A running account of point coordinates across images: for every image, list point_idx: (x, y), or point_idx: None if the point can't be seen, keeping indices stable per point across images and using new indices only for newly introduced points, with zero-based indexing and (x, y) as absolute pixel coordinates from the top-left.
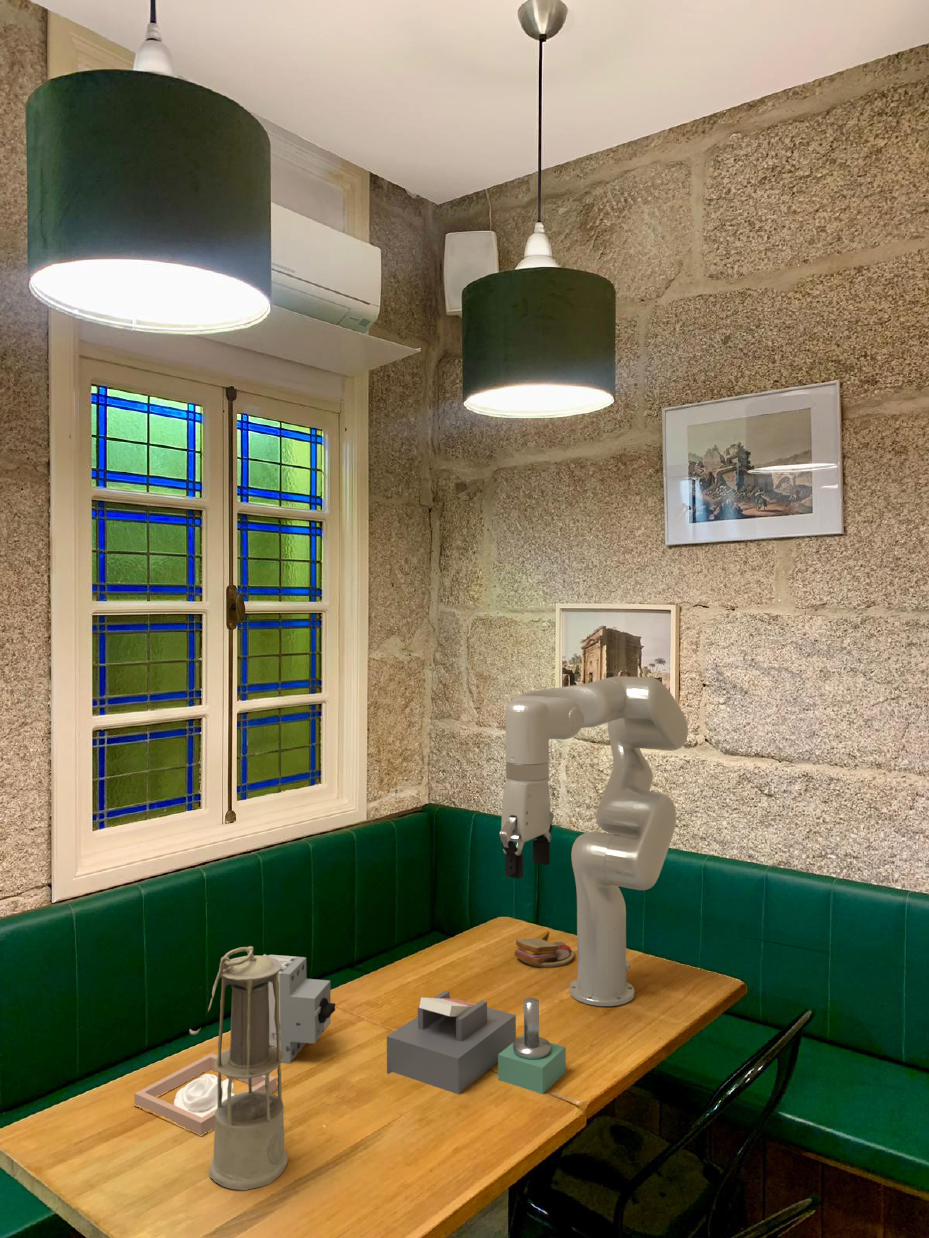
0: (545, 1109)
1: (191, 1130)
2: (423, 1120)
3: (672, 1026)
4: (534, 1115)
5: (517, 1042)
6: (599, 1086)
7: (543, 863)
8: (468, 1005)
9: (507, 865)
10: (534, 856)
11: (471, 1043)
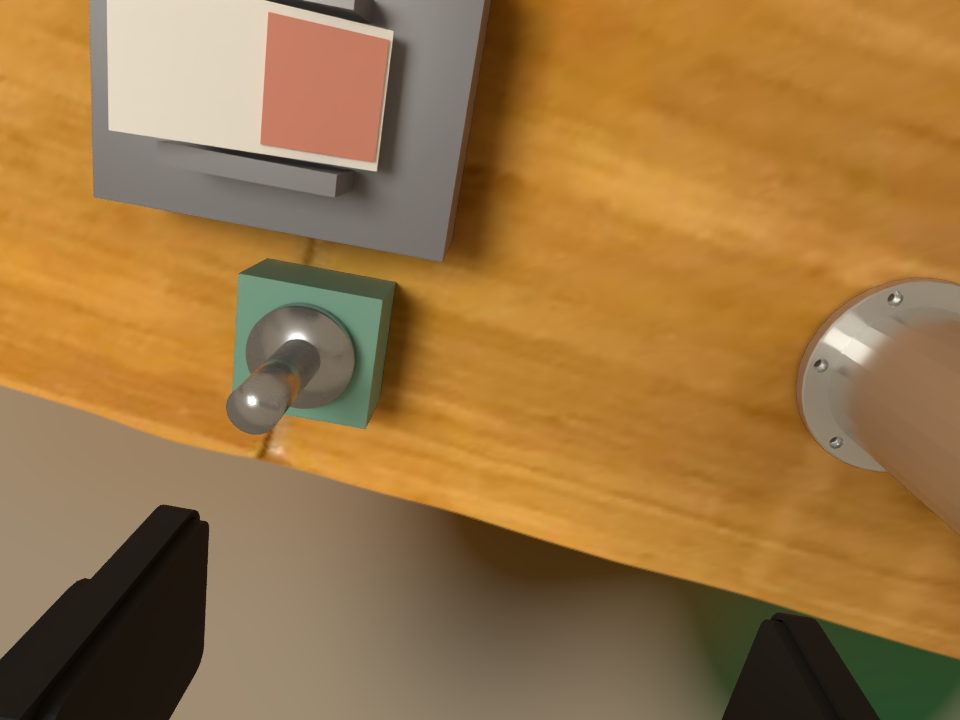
0: (214, 397)
1: None
2: (18, 146)
3: (719, 573)
4: (180, 382)
5: (291, 318)
6: (362, 478)
7: (726, 716)
8: (267, 145)
9: (32, 628)
10: (788, 682)
11: (196, 198)
